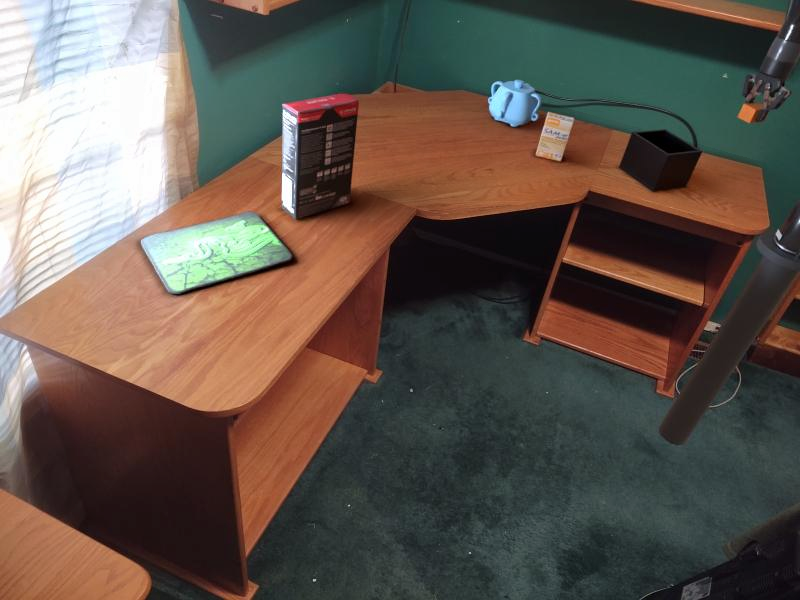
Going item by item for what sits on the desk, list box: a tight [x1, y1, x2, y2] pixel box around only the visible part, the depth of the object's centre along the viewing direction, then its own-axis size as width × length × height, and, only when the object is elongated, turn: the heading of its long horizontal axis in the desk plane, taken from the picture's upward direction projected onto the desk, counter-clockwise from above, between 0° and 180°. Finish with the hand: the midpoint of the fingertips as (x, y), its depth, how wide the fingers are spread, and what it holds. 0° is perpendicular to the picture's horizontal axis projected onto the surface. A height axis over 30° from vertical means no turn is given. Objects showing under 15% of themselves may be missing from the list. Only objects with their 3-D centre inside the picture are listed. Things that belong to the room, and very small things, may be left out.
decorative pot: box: [487, 79, 543, 128], centre depth 204 cm, size 16×16×14 cm
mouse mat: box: [140, 211, 293, 295], centre depth 130 cm, size 27×22×1 cm
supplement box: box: [535, 111, 575, 163], centre depth 184 cm, size 8×5×13 cm, turn 73°
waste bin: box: [618, 128, 703, 193], centre depth 181 cm, size 16×14×12 cm
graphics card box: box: [281, 92, 360, 220], centre depth 141 cm, size 17×7×27 cm, turn 131°
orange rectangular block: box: [737, 102, 771, 124], centre depth 170 cm, size 4×6×4 cm
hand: (751, 117), depth 170 cm, fingers closed on orange rectangular block, 4 cm apart
